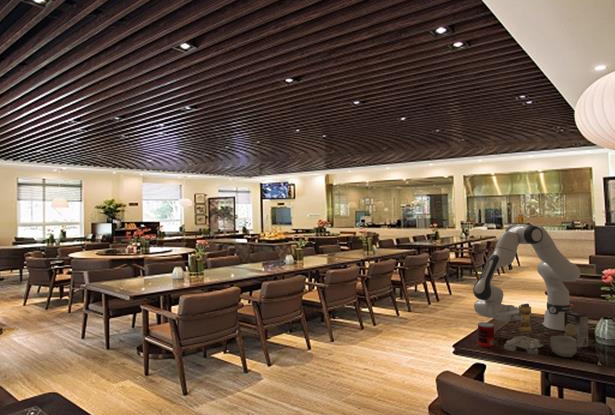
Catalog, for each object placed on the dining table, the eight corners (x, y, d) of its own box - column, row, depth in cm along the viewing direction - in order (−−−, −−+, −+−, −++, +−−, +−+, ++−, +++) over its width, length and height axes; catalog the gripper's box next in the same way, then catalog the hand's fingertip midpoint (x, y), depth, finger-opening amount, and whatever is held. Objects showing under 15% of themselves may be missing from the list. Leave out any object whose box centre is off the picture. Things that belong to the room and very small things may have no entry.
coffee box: (563, 342, 222) (563, 311, 222) (573, 341, 224) (572, 310, 224) (579, 347, 213) (579, 315, 214) (589, 346, 215) (588, 314, 215)
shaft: (523, 348, 213) (523, 339, 213) (533, 348, 212) (533, 339, 212) (528, 353, 205) (528, 344, 205) (538, 354, 204) (538, 345, 204)
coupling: (523, 329, 222) (523, 302, 222) (533, 332, 217) (533, 304, 217) (516, 331, 219) (516, 303, 219) (526, 334, 214) (526, 305, 214)
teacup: (566, 360, 196) (566, 342, 196) (545, 353, 206) (544, 336, 206) (586, 356, 202) (586, 339, 202) (564, 349, 211) (564, 333, 212)
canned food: (493, 344, 220) (493, 322, 220) (494, 348, 213) (494, 326, 213) (477, 342, 223) (477, 321, 223) (478, 347, 215) (478, 325, 215)
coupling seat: (521, 340, 226) (521, 331, 226) (543, 346, 216) (543, 337, 216) (497, 346, 216) (497, 337, 216) (519, 353, 206) (519, 344, 206)
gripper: (489, 308, 224) (514, 314, 212) (513, 304, 235) (538, 309, 223) (489, 320, 224) (514, 327, 212) (513, 316, 235) (538, 321, 223)
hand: (526, 318), depth 218 cm, fingers closed on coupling, 4 cm apart
